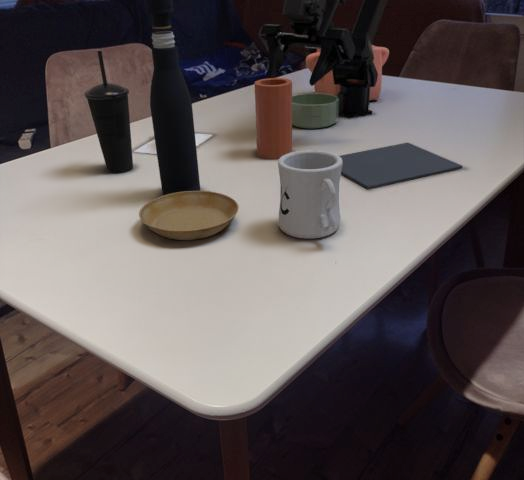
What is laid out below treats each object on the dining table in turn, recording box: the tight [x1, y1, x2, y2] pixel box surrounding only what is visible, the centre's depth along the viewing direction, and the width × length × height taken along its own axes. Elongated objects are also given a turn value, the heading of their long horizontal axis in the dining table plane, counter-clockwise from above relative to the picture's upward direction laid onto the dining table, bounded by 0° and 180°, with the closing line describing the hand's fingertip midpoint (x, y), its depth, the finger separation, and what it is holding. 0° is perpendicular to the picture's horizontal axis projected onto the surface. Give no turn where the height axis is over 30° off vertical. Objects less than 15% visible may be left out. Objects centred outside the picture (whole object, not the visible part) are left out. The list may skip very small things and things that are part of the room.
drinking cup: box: [83, 50, 134, 174], centre depth 104 cm, size 8×8×20 cm
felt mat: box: [339, 142, 463, 190], centre depth 107 cm, size 20×16×1 cm
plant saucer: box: [138, 190, 240, 241], centre depth 87 cm, size 15×15×3 cm
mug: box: [277, 149, 343, 240], centre depth 82 cm, size 12×9×10 cm
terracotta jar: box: [254, 77, 293, 160], centre depth 111 cm, size 7×7×13 cm
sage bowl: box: [292, 92, 339, 130], centre depth 130 cm, size 11×11×5 cm
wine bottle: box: [144, 0, 202, 196], centre depth 90 cm, size 6×6×30 cm
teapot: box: [305, 44, 390, 101], centre depth 142 cm, size 20×22×14 cm
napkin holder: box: [132, 132, 214, 155], centre depth 120 cm, size 15×11×6 cm
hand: (289, 81), depth 111 cm, fingers open, 9 cm apart
